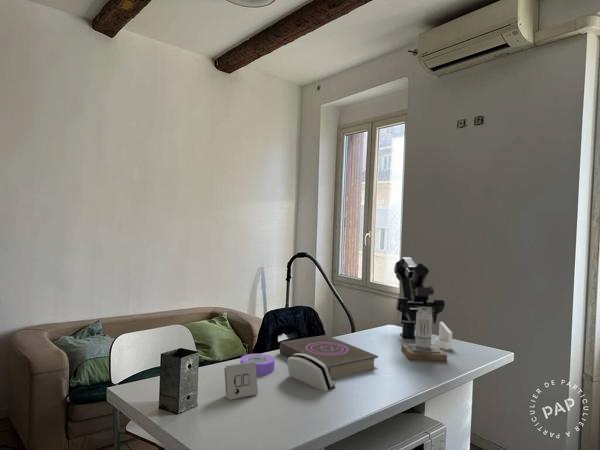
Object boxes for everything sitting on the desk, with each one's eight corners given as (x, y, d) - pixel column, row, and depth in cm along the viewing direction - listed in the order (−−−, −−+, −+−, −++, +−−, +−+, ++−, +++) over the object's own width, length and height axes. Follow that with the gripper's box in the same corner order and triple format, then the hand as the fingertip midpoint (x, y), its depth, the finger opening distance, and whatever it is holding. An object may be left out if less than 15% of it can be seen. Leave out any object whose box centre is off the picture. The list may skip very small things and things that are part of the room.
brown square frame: (401, 349, 176) (401, 341, 176) (435, 350, 175) (435, 343, 175) (409, 360, 162) (410, 352, 162) (446, 361, 161) (447, 353, 161)
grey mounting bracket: (336, 387, 133) (330, 359, 130) (326, 396, 130) (319, 367, 127) (299, 372, 145) (293, 346, 142) (289, 380, 142) (283, 353, 139)
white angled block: (434, 336, 188) (442, 321, 184) (448, 353, 180) (457, 338, 176) (428, 337, 186) (436, 322, 182) (442, 354, 178) (450, 339, 174)
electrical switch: (228, 401, 120) (228, 367, 121) (221, 396, 125) (221, 363, 125) (258, 395, 125) (258, 362, 126) (251, 390, 129) (250, 359, 130)
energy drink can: (415, 349, 166) (417, 310, 166) (414, 344, 172) (415, 307, 172) (432, 350, 165) (433, 311, 165) (429, 345, 171) (431, 308, 171)
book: (377, 369, 151) (377, 355, 151) (327, 381, 139) (327, 366, 139) (325, 346, 177) (326, 334, 177) (279, 354, 165) (279, 341, 165)
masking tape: (263, 361, 155) (263, 351, 155) (280, 371, 145) (281, 360, 145) (234, 367, 148) (234, 356, 148) (250, 378, 139) (251, 366, 139)
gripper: (398, 278, 175) (402, 310, 164) (444, 279, 175) (452, 312, 164) (394, 293, 183) (398, 326, 172) (438, 295, 183) (445, 328, 172)
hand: (423, 322), depth 170 cm, fingers open, 9 cm apart
